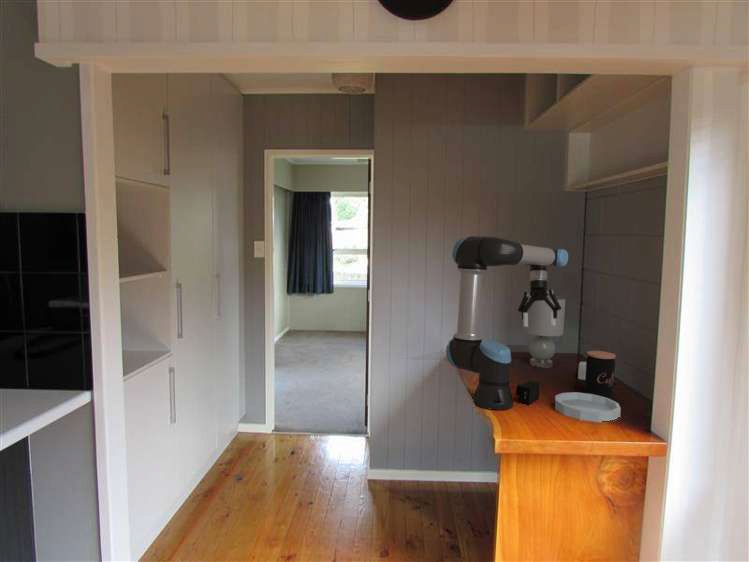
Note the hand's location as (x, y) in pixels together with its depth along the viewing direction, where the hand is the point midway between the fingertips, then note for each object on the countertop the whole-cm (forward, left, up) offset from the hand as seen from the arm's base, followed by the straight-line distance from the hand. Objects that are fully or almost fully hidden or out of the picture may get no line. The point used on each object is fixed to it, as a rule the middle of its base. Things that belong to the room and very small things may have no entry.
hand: (539, 326), depth 215 cm
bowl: (-23, -34, -25) cm, 48 cm away
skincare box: (+20, -13, -25) cm, 35 cm away
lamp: (+25, +13, -25) cm, 38 cm away
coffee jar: (-2, -29, -25) cm, 38 cm away
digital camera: (-31, -14, -25) cm, 42 cm away
